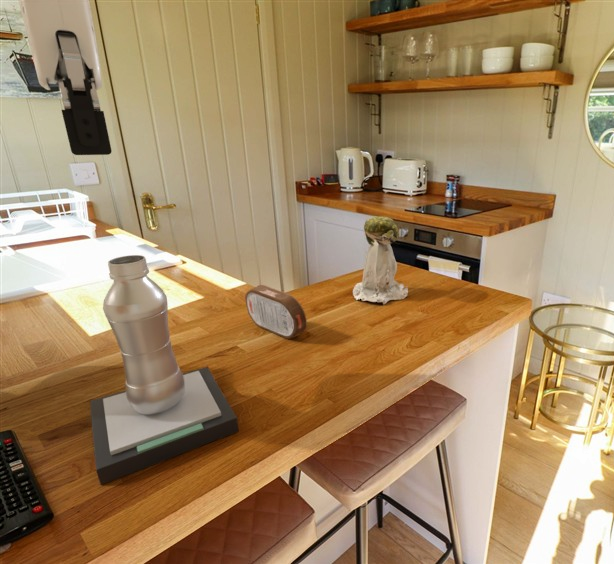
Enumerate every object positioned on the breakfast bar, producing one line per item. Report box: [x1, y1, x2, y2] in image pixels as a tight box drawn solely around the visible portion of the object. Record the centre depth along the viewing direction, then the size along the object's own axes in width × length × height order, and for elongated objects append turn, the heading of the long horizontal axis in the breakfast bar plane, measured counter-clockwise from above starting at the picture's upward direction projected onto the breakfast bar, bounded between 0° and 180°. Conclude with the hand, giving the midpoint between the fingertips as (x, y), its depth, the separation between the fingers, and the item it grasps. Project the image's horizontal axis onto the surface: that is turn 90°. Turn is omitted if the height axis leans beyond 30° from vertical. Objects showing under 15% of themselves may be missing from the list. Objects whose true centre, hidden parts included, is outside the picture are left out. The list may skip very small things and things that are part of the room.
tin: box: [244, 284, 307, 340], centre depth 80 cm, size 15×3×8 cm, turn 54°
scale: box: [89, 366, 239, 486], centre depth 56 cm, size 15×15×3 cm
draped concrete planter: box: [352, 215, 409, 305], centre depth 97 cm, size 12×13×18 cm
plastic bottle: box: [102, 254, 185, 414], centre depth 52 cm, size 6×7×20 cm
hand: (90, 151), depth 45 cm, fingers open, 9 cm apart
